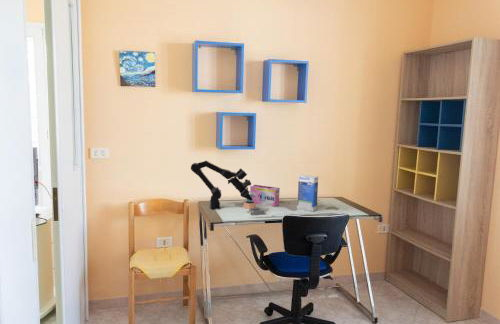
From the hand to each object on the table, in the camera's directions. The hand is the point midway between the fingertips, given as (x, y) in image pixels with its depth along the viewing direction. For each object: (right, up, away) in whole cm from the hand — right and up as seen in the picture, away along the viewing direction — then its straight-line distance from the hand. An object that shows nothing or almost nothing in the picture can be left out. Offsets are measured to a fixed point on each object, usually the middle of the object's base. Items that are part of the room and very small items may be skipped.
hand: (251, 198), depth 296 cm
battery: (-2, -7, +1) cm, 7 cm away
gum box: (+10, -6, +19) cm, 23 cm away
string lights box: (+42, -9, +4) cm, 43 cm away
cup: (-2, -8, +1) cm, 8 cm away
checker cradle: (+3, -10, -14) cm, 18 cm away
